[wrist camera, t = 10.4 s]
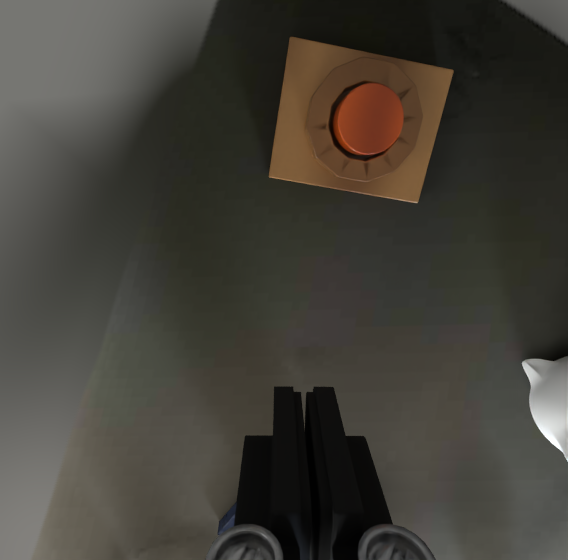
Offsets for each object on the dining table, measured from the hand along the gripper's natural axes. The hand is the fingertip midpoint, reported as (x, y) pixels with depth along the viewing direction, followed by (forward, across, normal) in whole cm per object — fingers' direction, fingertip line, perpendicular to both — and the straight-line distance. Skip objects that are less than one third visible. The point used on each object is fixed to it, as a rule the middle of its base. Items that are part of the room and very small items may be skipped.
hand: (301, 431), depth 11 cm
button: (+15, -4, -10) cm, 18 cm away
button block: (+18, -4, -10) cm, 21 cm away
